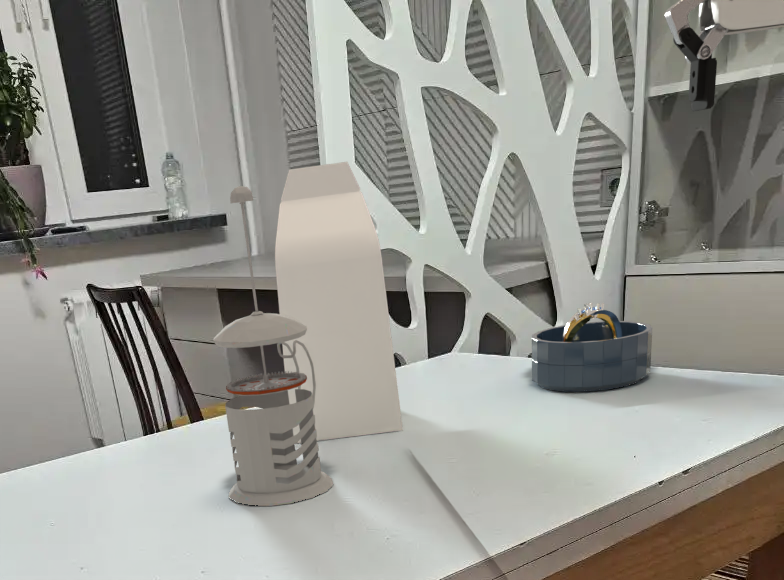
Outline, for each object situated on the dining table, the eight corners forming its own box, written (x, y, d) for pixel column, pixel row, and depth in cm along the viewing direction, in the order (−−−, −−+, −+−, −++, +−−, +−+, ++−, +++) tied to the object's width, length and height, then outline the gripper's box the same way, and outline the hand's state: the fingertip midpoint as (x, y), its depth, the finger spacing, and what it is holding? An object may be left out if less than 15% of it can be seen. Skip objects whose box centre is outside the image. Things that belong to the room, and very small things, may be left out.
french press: (206, 502, 82) (153, 197, 71) (275, 464, 91) (237, 187, 80) (298, 509, 77) (256, 182, 66) (361, 468, 86) (334, 173, 75)
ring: (567, 381, 105) (568, 308, 102) (557, 376, 108) (557, 305, 105) (625, 372, 106) (628, 300, 102) (614, 368, 108) (616, 297, 105)
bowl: (622, 362, 113) (623, 316, 111) (669, 382, 101) (672, 331, 99) (518, 377, 113) (517, 331, 110) (553, 398, 101) (553, 347, 99)
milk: (291, 443, 97) (256, 173, 86) (291, 419, 107) (260, 174, 96) (402, 430, 97) (382, 155, 85) (392, 406, 107) (373, 159, 95)
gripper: (694, -127, 75) (680, 111, 82) (898, -153, 75) (866, 87, 83) (655, -100, 81) (645, 118, 89) (842, -124, 82) (817, 95, 89)
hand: (752, 103), depth 86 cm, fingers open, 9 cm apart
